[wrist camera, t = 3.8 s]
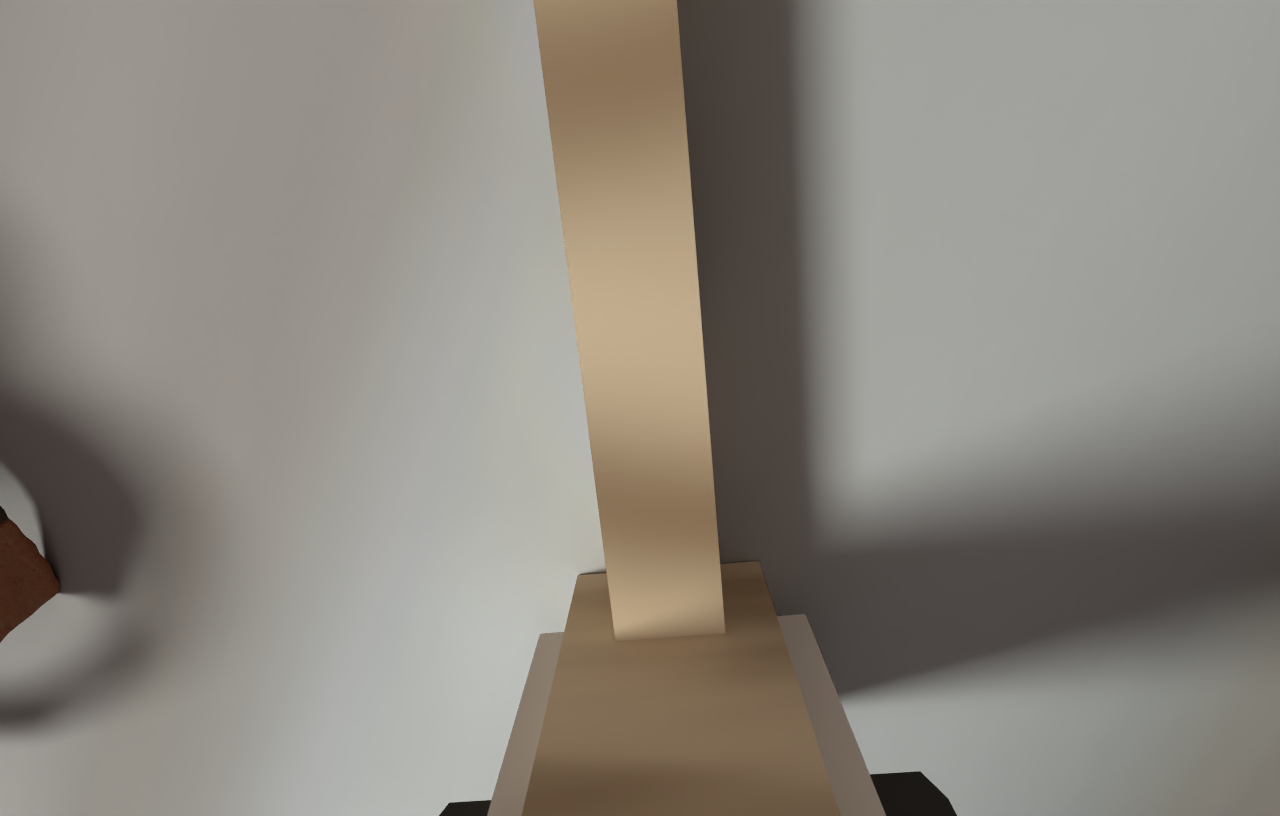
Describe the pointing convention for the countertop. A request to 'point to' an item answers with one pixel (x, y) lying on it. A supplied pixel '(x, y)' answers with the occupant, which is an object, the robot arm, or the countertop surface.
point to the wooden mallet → (653, 470)
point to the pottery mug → (21, 577)
